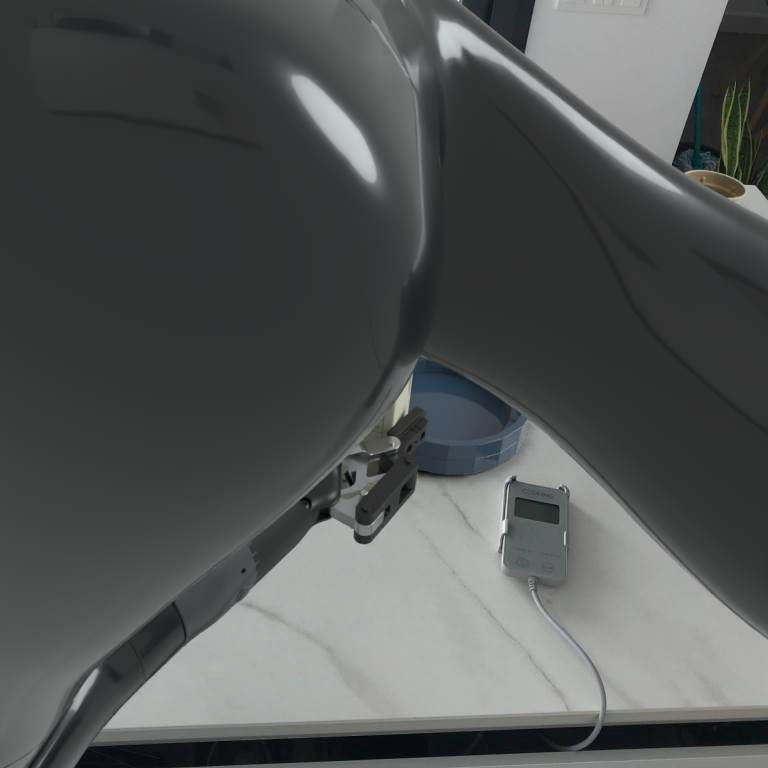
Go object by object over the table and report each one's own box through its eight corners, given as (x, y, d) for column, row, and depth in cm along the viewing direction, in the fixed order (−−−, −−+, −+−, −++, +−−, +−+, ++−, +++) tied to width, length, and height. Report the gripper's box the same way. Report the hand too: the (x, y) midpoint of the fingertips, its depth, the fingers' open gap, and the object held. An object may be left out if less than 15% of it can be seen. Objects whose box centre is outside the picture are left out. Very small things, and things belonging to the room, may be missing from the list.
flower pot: (730, 232, 120) (751, 180, 115) (722, 258, 114) (744, 204, 108) (669, 215, 123) (687, 164, 118) (658, 240, 117) (676, 187, 111)
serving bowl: (559, 429, 82) (569, 396, 79) (442, 506, 72) (448, 473, 69) (442, 347, 91) (447, 316, 89) (324, 406, 82) (326, 373, 79)
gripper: (303, 564, 37) (473, 395, 48) (104, 435, 43) (296, 310, 54) (302, 651, 42) (457, 479, 53) (122, 524, 48) (295, 393, 59)
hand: (375, 394), depth 54 cm, fingers closed on cosmetic box, 7 cm apart
